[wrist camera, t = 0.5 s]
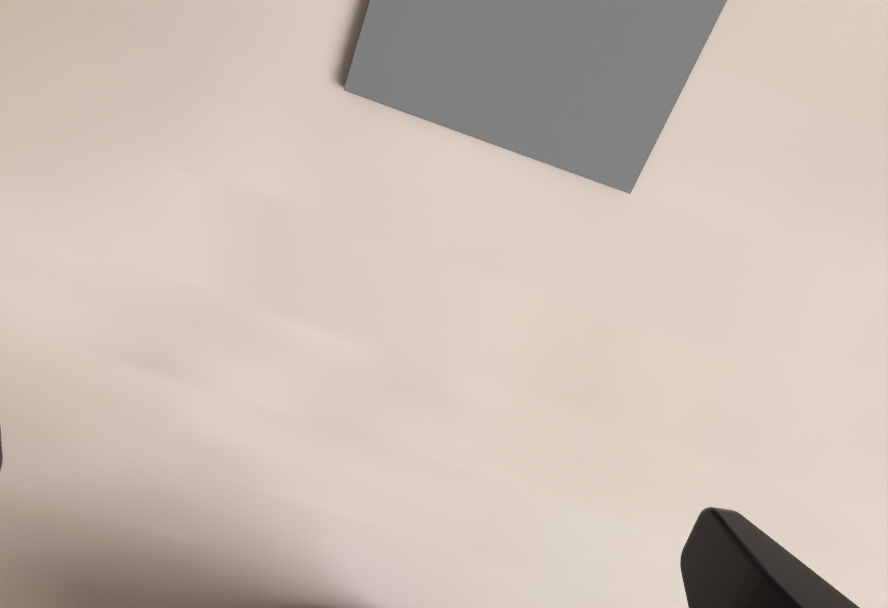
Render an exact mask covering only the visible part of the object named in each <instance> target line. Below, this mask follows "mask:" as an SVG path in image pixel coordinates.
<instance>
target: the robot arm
mask: <svg viewBox="0 0 888 608" xmlns="http://www.w3.org/2000/svg"><path fill="white" fill-rule="evenodd" d="M2 458H3V456H2V442H1V428H0V470H1V467H2ZM680 563H681V573H682V577H683V582H684V587H685V592H686V596H687V601H688V606H689V608H859V607H858V606H857V605H856V604H854V603H853V602H852V601H850V600H849V599H848V598H847V597H845V596H844V595H843V594H842V593H840V592H839V591H838V590H836V589H835V588H834V587H833V586H831V585H830V584H829V583H828V582H826V581H825V580H824V579H822V578H821V577H820V576H819V575H817V574H816V573H815V572H814V571H812V570H811V569H810V568H808V567H807V566H806V565H805V564H803V563H802V562H801V561H800V560H798V559H797V558H796V557H794V556H793V555H792V554H791V553H789V552H788V551H787V550H785V549H784V548H783V547H782V546H780V545H779V544H778V543H777V542H775V541H774V540H773V539H771V538H770V537H769V536H768V535H766V534H765V533H764V532H763V531H761V530H760V529H759V528H757V527H756V526H755V525H754V524H752V523H751V522H750V521H749V520H747V519H746V518H745V517H743V516H742V515H741V514H739V513H738V512H736V511H733V510H728V509H721V508H714V507H709V508H705V509H704V510H703V511H702V512H701V513H700V515H699V517H698V519H697V521H696V523H695V525H694V527H693V529H692V531H691V533H690V536H689V538H688V540H687V542H686V544H685V546H684V548H683V551H682V554H681V562H680Z"/></svg>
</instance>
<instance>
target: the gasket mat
mask: <svg viewBox="0 0 888 608" xmlns="http://www.w3.org/2000/svg"><path fill="white" fill-rule="evenodd" d="M726 1H727V0H370V1H369V5H368V8H367V12H366V15H365V19H364V22H363V25H362V29H361V32H360V36H359V39H358V43H357V46H356V49H355V53H354V56H353V60H352V63H351V66H350V70H349V73H348V77H347V80H346V84H345V87H344V90H345V91H347V92H350V93H353V94H356V95H359V96H361V97H364V98H367V99H370V100H372V101H375V102H378V103H381V104H383V105H386V106H389V107H392V108H394V109H397V110H400V111H403V112H405V113H408V114H411V115H414V116H417V117H419V118H422V119H425V120H428V121H430V122H433V123H436V124H439V125H441V126H444V127H447V128H450V129H452V130H455V131H458V132H461V133H464V134H466V135H469V136H472V137H475V138H477V139H480V140H483V141H486V142H488V143H491V144H494V145H497V146H499V147H502V148H505V149H508V150H510V151H513V152H516V153H519V154H522V155H524V156H527V157H530V158H533V159H535V160H538V161H541V162H544V163H546V164H549V165H552V166H555V167H557V168H560V169H563V170H566V171H569V172H571V173H574V174H577V175H580V176H582V177H585V178H588V179H591V180H593V181H596V182H599V183H602V184H604V185H607V186H610V187H613V188H615V189H618V190H621V191H624V192H627V193H629V194H630V193H631V191H632V189H633V187H634V185H635V183H636V181H637V179H638V177H639V175H640V173H641V171H642V169H643V167H644V165H645V163H646V161H647V159H648V157H649V155H650V153H651V151H652V149H653V147H654V145H655V143H656V141H657V139H658V137H659V135H660V133H661V131H662V129H663V127H664V125H665V123H666V121H667V119H668V117H669V115H670V113H671V111H672V109H673V107H674V105H675V103H676V101H677V99H678V97H679V95H680V93H681V91H682V89H683V87H684V85H685V83H686V81H687V79H688V77H689V75H690V73H691V71H692V69H693V67H694V65H695V63H696V61H697V59H698V57H699V55H700V53H701V51H702V49H703V47H704V45H705V43H706V41H707V39H708V37H709V35H710V33H711V31H712V29H713V27H714V25H715V23H716V21H717V19H718V17H719V15H720V13H721V11H722V9H723V7H724V5H725V3H726Z"/></svg>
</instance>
